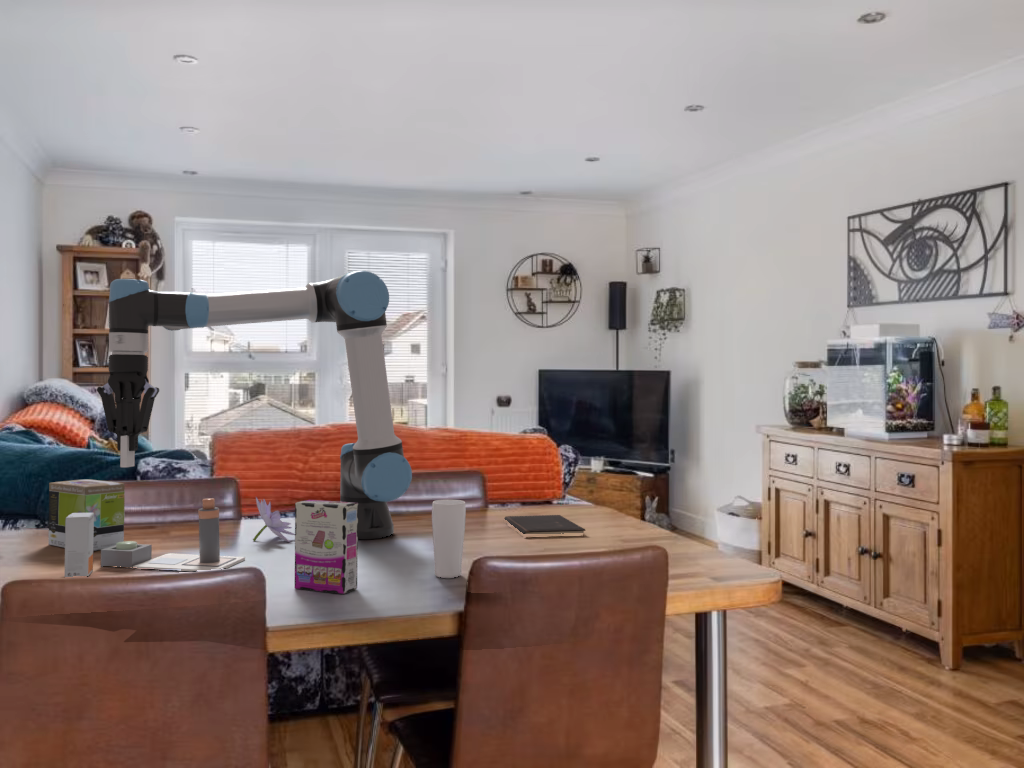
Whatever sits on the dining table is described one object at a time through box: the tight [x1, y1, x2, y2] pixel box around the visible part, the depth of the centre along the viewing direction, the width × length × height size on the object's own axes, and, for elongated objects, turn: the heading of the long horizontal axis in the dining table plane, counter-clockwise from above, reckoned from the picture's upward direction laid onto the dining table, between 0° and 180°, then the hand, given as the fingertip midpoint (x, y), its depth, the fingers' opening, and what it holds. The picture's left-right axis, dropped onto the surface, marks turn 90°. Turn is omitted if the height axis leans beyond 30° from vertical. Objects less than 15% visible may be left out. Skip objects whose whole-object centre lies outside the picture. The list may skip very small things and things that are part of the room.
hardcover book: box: [503, 514, 586, 534], centre depth 228 cm, size 16×23×2 cm
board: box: [133, 552, 246, 571], centre depth 181 cm, size 18×13×1 cm
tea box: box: [48, 478, 125, 552], centre depth 198 cm, size 15×10×15 cm, turn 57°
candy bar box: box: [294, 499, 359, 595], centre depth 162 cm, size 11×5×16 cm, turn 69°
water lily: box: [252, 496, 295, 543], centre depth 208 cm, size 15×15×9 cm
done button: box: [116, 540, 138, 550], centre depth 180 cm, size 4×4×2 cm
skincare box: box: [63, 513, 94, 577], centre depth 170 cm, size 6×4×12 cm
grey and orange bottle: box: [197, 497, 221, 563], centre depth 181 cm, size 4×4×13 cm
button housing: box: [100, 543, 153, 568], centre depth 180 cm, size 7×7×4 cm
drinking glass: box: [431, 499, 467, 579], centre depth 174 cm, size 7×7×15 cm
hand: (127, 466), depth 180 cm, fingers closed
